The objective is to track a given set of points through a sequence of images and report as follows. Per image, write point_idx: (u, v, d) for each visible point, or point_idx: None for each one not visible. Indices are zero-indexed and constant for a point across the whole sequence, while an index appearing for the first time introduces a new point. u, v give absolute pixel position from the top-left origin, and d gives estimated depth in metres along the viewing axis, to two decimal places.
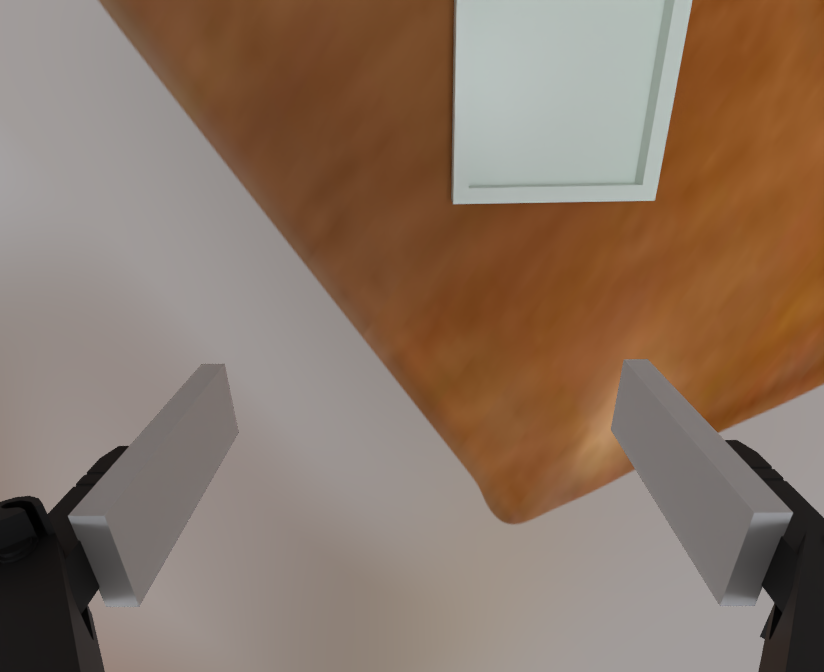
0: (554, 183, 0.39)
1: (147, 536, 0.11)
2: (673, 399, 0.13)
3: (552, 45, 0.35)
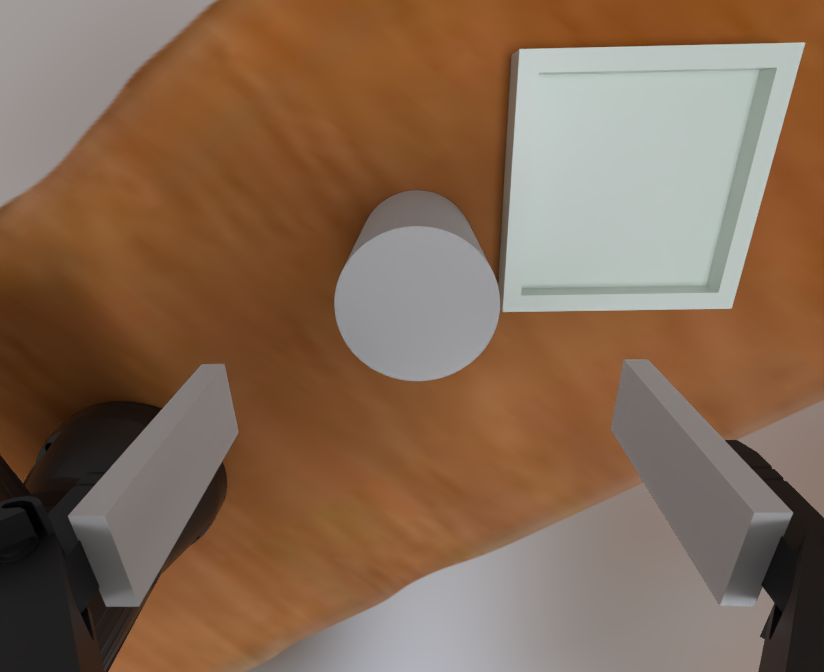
0: (731, 182, 0.31)
1: (147, 536, 0.11)
2: (673, 399, 0.13)
3: (580, 203, 0.32)
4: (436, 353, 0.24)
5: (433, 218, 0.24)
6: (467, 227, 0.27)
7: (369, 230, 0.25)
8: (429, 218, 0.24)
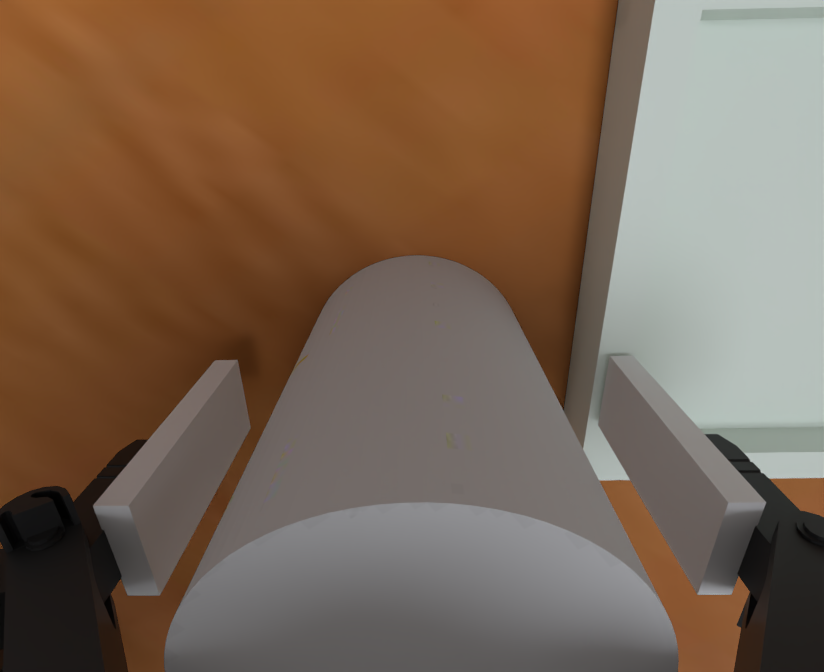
0: None
1: (167, 527, 0.11)
2: (656, 394, 0.13)
3: (739, 283, 0.16)
4: None
5: (468, 410, 0.08)
6: (537, 374, 0.11)
7: (290, 419, 0.09)
8: (456, 412, 0.08)
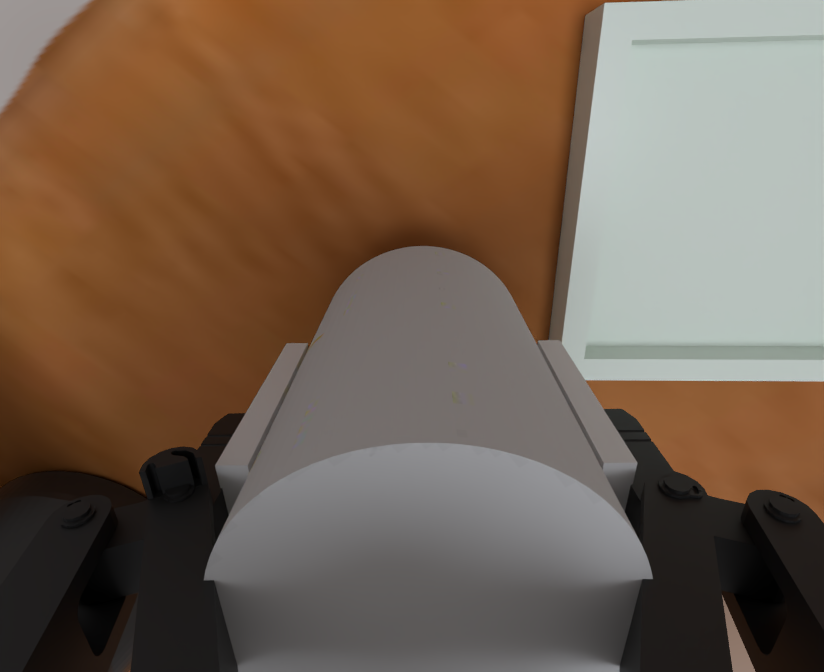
0: None
1: None
2: (569, 373, 0.14)
3: (674, 232, 0.22)
4: None
5: (471, 374, 0.09)
6: (535, 352, 0.12)
7: (310, 385, 0.10)
8: (461, 376, 0.09)
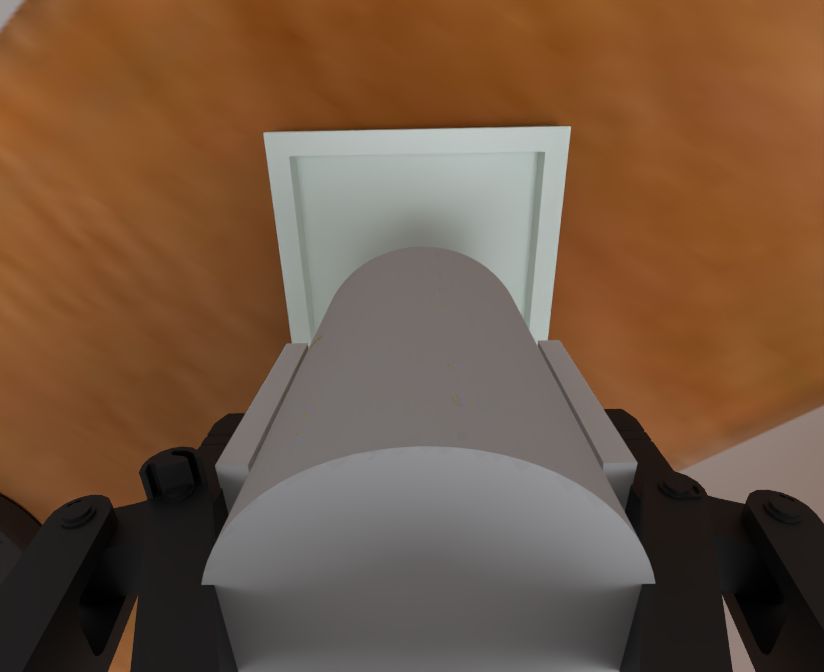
0: (528, 263, 0.29)
1: None
2: (569, 373, 0.14)
3: None
4: None
5: (471, 376, 0.09)
6: (536, 353, 0.12)
7: (310, 387, 0.10)
8: (461, 378, 0.09)
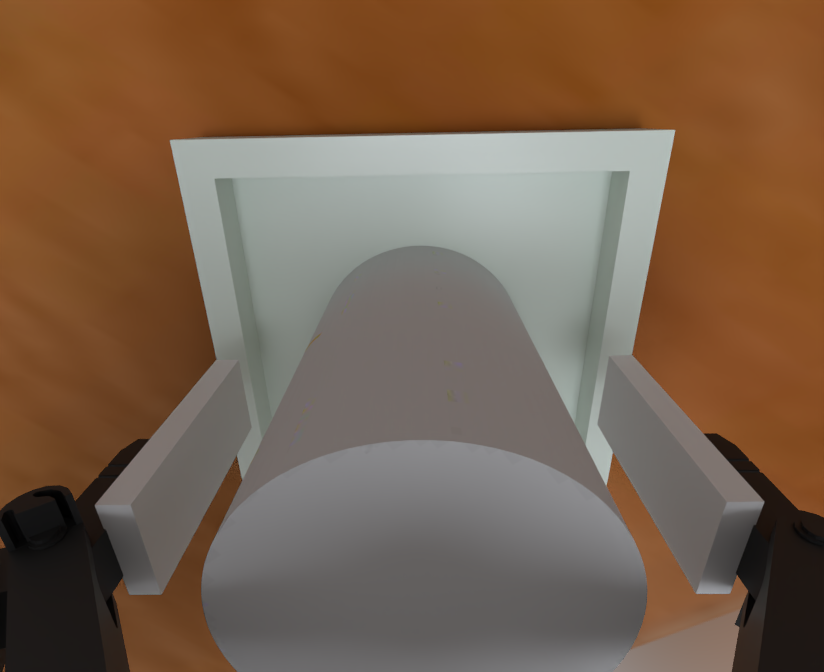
0: (586, 334, 0.19)
1: (169, 526, 0.11)
2: (655, 393, 0.13)
3: None
4: None
5: (466, 373, 0.09)
6: (531, 351, 0.13)
7: (308, 384, 0.10)
8: (456, 374, 0.09)
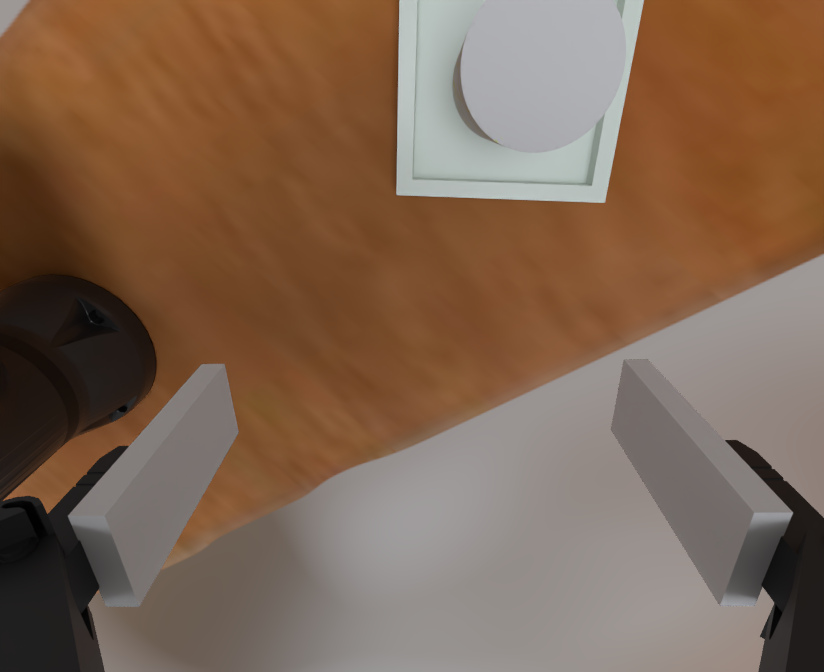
0: None
1: (147, 536, 0.11)
2: (673, 399, 0.13)
3: None
4: (553, 120, 0.25)
5: None
6: None
7: None
8: None
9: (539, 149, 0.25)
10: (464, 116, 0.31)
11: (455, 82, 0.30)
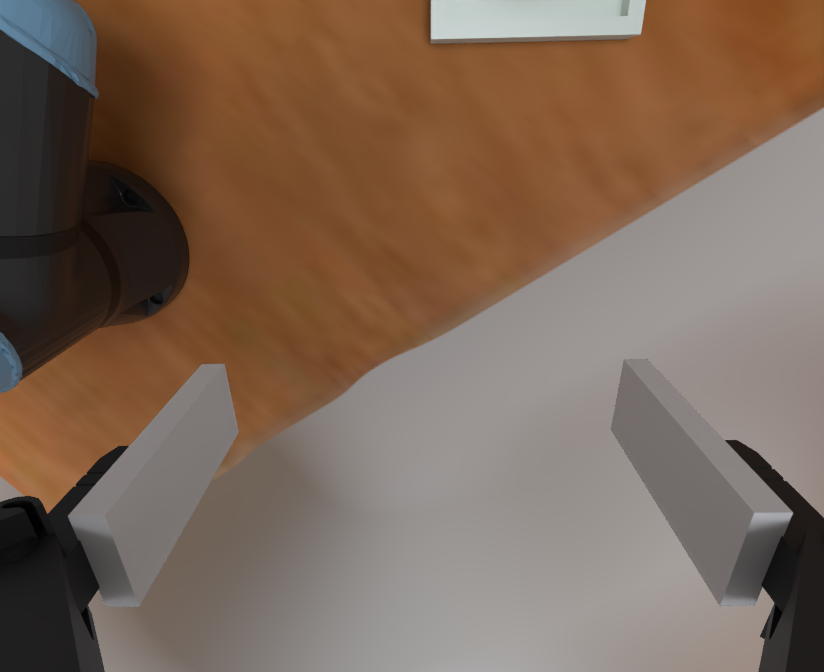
0: None
1: (147, 536, 0.11)
2: (673, 399, 0.13)
3: None
4: None
5: None
6: None
7: None
8: None
9: None
10: None
11: None
